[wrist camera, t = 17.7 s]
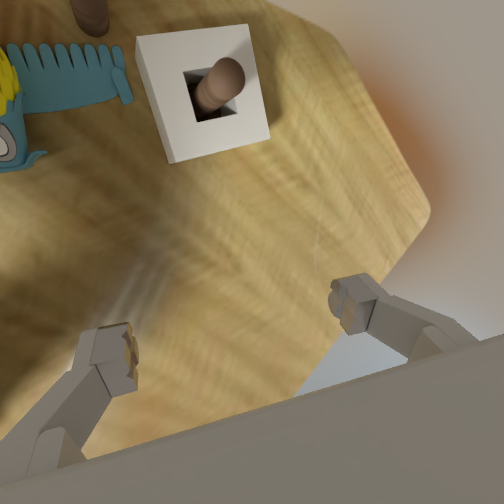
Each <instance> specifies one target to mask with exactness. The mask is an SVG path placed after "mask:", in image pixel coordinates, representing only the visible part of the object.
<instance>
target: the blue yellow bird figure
mask: <svg viewBox="0 0 504 504" xmlns="http://www.w3.org/2000/svg"><path fill="white" fill-rule="evenodd" d="M6 50H7V54H8V57H9V60H10V63H11V65H10V63H9V61H8V58H7V57H6V55H5V53H4V51H3V49H2V48H1V47H0V173H5V172H13V171H20V170H26V169H28V168H30V167H32V166H33V164H34V162H35V161H36V160H37V159H38V157H40V156H41V155H45V154H47V151H46V150H41V151H39V150H37V151H34V152H31V153H30V154H29V153H28V144H27V137H26V130H25V124H24V119H23V114H30V113H43V112H55V111H61V110H66V109H73V108H79V107H84V106H87V105H91V104H96V103H99V102H104V101H107V100H110V99H112V98H114V97H115V96H116V95H117V94H118V93H119V96H120V98H121V101H122V104H123V105H127V104H129V103H131V102H133V101H134V98H133V95H132V92H131V89H130V87H129V84H128V82H127V79H126V77H125V75H126V73H125V62H124V56H123V52H122V50H121V48H120V47H119V46H116V45H114V46H112V55H113V60H114V64H113V61H112V58H111V55H110V52H109V49H108V47H107V46H106V45H105V44H100V45H99V46H98V52H99V57H100V62H101V65H100V63H99V60H98V56H97V53H96V50H95V48H94V47H93V45H91V44H85V46H84V51H85V56H86V60H87V64H86V62H85V59H84V56H83V53H82V50H81V48H80V47H79V45H77V44H75V43H72V44H71V45H70V53H71V57H72V61H73V66H74V68H73V66H72V63H71V61H70V58H69V55H68V52H67V50H66V48H65V46H64V45H63V44H60V43H57V44H56V45H55V53H56V57H57V60H58V64H59V67H58V65H57V63H56V60H55V57H54V55H53V52H52V50H51V48H50V47H49V46H48V45H47V44H45V43H42V44H40V46H39V51H40V55H41V59H42V62H43V66H44V69H43V67H42V64H41V62H40V59H39V57H38V54H37V52H36V50H35V48H34V47H33V46H32V45H31V44H29V43H25V44H24V45H23V52H24V56H25V59H26V62H27V65H28V67H27V65H26V63H25V61H24V58H23V56H22V54H21V51H20V50H19V48H18V47H17V46H16V45H15V44H12V43H9V44H8V45H7V46H6ZM87 65H88V67H87ZM114 65H115V66H114Z"/></svg>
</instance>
